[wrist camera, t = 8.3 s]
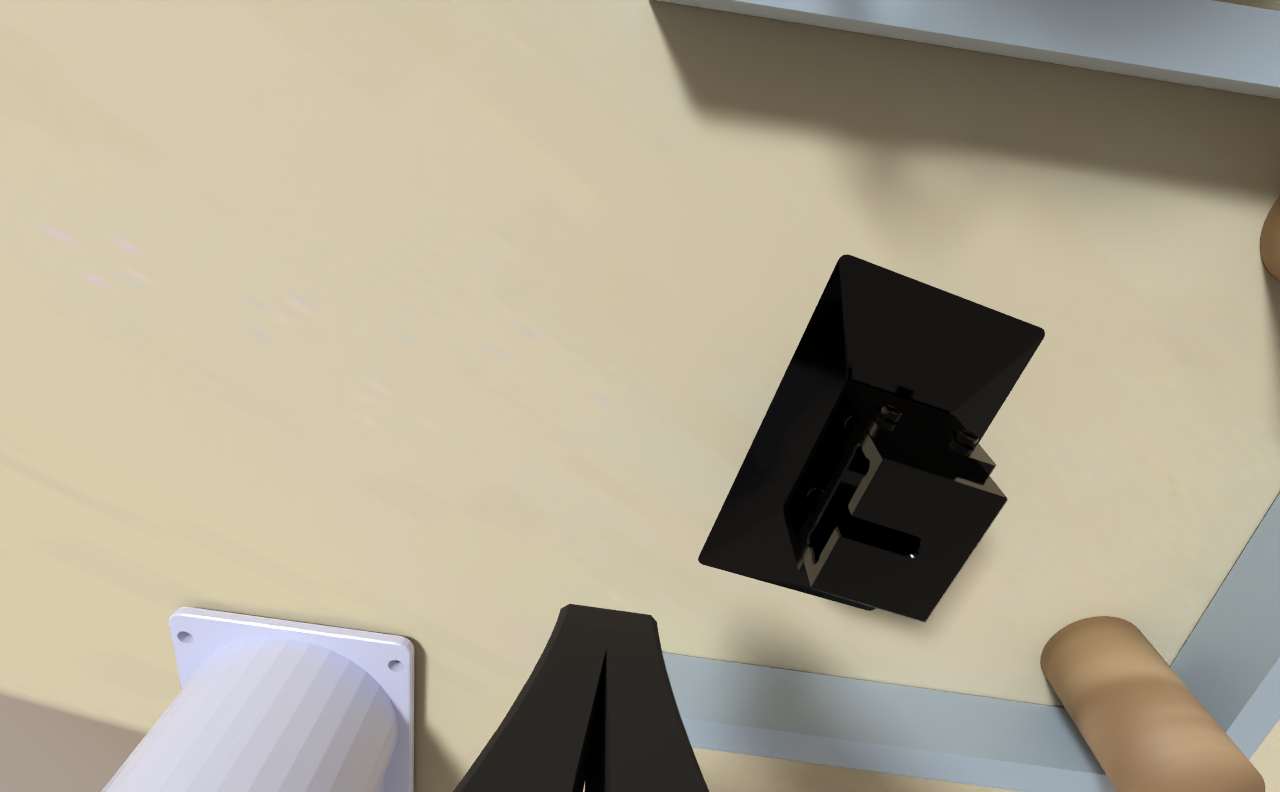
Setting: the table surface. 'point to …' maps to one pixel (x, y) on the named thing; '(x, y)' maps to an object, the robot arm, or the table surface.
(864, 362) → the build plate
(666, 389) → the table surface
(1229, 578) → the bay
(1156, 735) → the part
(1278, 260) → the part
